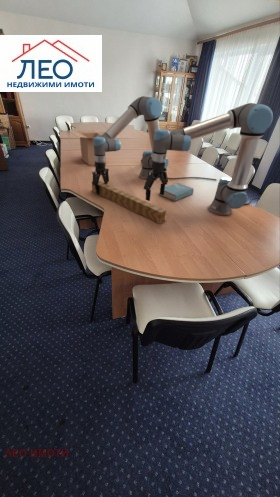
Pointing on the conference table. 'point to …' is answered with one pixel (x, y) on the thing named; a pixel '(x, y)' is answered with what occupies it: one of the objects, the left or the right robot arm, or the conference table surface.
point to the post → (131, 202)
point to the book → (177, 191)
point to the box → (88, 145)
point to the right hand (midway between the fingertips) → (154, 197)
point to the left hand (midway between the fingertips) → (101, 192)
